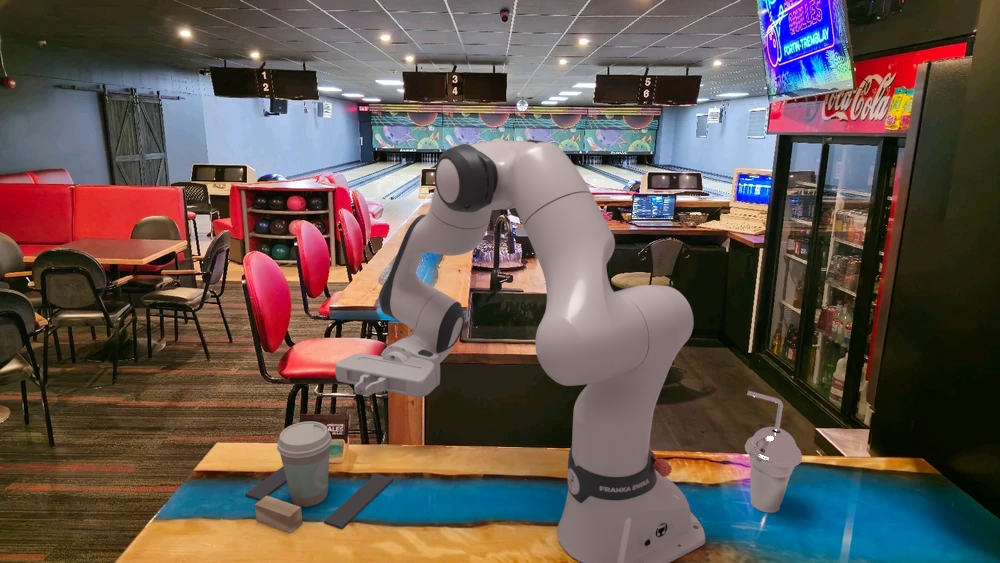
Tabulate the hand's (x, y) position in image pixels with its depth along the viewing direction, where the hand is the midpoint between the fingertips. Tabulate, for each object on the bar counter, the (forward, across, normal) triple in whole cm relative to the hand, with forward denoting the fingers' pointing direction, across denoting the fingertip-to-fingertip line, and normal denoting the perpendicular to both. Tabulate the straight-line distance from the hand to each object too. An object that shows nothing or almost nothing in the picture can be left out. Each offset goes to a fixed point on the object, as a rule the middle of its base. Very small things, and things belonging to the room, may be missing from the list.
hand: (360, 391), depth 113 cm
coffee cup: (+14, -1, +13) cm, 19 cm away
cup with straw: (-16, +68, +15) cm, 72 cm away
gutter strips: (+12, -1, +13) cm, 18 cm away
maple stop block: (+22, -1, +13) cm, 25 cm away
